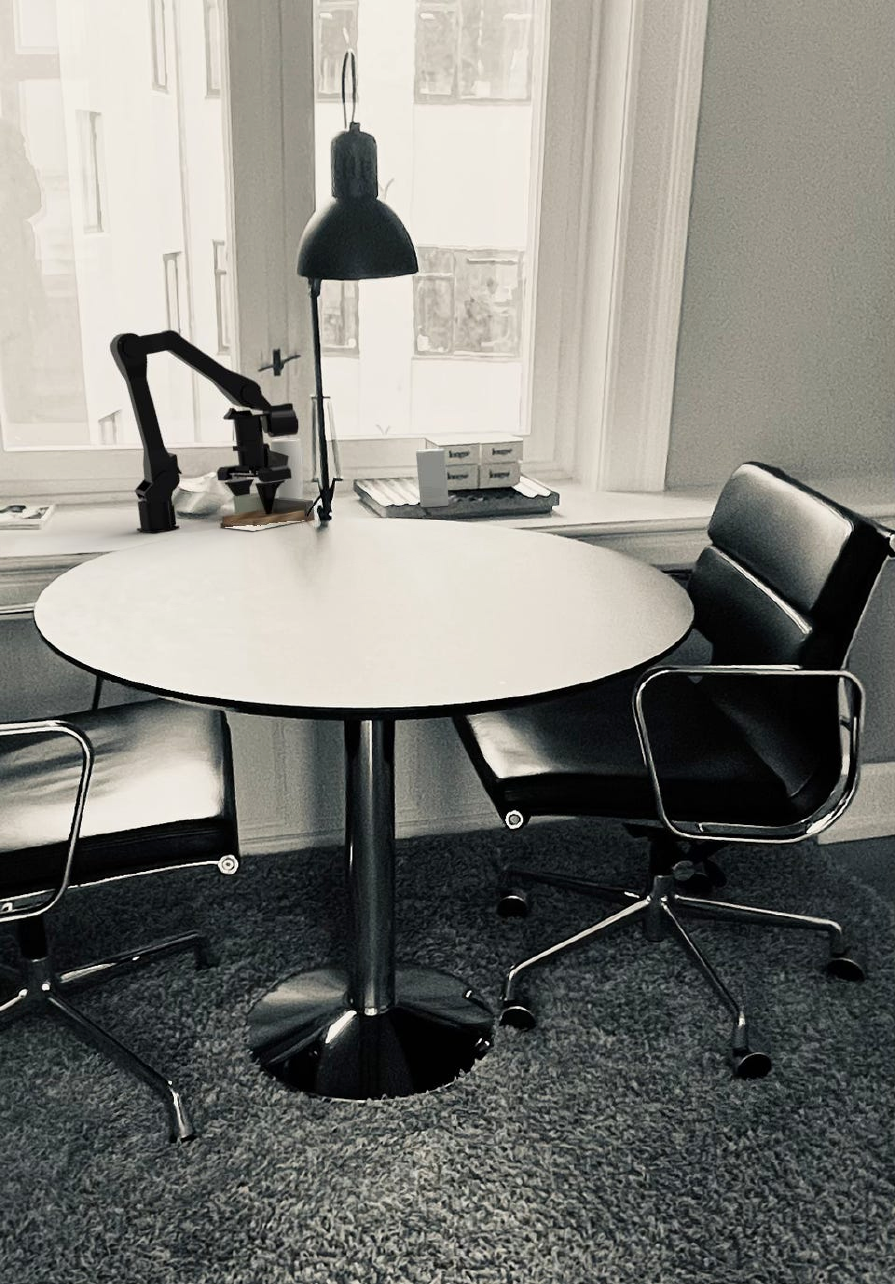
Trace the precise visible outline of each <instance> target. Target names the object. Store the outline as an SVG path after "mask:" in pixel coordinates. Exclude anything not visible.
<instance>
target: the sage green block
mask: <svg viewBox="0 0 895 1284" xmlns="http://www.w3.org/2000/svg"><path fill="white" fill-rule="evenodd" d="M276 495H277V493H276V494H275V498H277V496H276ZM233 504H234V505H233V506H234V514H240V513H245V512H250V511H255V510H261V509H264V508H263V505H262V502H261V499H260V496H259V493H258V492H254V493H250V494H246V495H241V496H235V495H234V496H233Z"/></svg>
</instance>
